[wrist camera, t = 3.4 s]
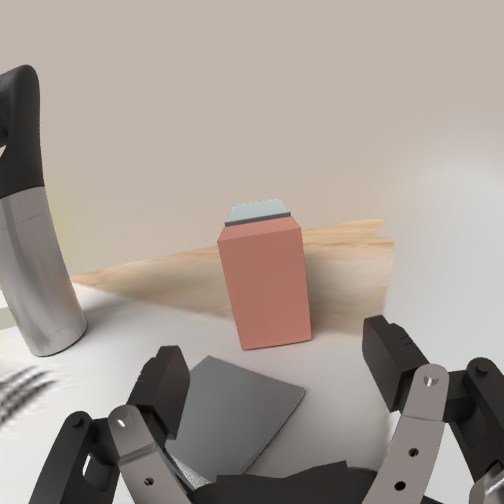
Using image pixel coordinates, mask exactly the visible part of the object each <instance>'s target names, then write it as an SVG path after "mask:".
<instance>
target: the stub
mask: <svg viewBox="0 0 504 504" xmlns="http://www.w3.org/2000/svg"><path fill="white" fill-rule="evenodd" d="M217 243H218V247H219V252H220V257H221V261H222V266H223V270H224V275H225V279H226V284H227V288H228V292H229V297H230V301H231V305H232V310H233V314H234V318H235V322H236V326H237V331H238V335H239V339H240V343H241V347H242V350H247V349H255V348H262V347H270V346H276V345H283V344H289V343H295V342H301V341H307V340H311V327H310V314H309V302H308V290H307V280H306V270H305V261H304V252H303V243H302V235H301V228H300V226H299V225H298V224H297V222H296V221H295V220H294V218H293V217H292V216H291V217H285V218H278V219H272V220H266V221H259V222H253V223H247V224H241V225H235V226H229V227H224V228H223V230H222V232H221V234H220V237H219V239H218V241H217Z"/></svg>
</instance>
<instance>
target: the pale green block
mask: <svg viewBox="0 0 504 504" xmlns="http://www.w3.org/2000/svg"><path fill="white" fill-rule="evenodd" d="M285 217H291V214H290V212H289V211H288V210H287V209H286V207H285V206H284V204H283V203H282V202H281V201H280V199H279V198H277V199H271V200H264V201H258V202H252V203H246V204H240V205H234V206H233V208H232V210H231V212H230V214H229V216H228V219H227V221H226V222H225V227H229V226H235V225H241V224H247V223H253V222H259V221H266V220H272V219H278V218H285Z"/></svg>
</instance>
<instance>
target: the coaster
mask: <svg viewBox="0 0 504 504" xmlns="http://www.w3.org/2000/svg"><path fill="white" fill-rule="evenodd" d="M189 373H190V386H189V390H188V394H187V398H186V402H185V406H184V410H183V414H182V418H181V422H180V426H179V430H178V434H177V438H176V440H166V443H165V447H166V448H167V450H168V451H169V453H170V455H171V456H172V457H173V458H174V459H175V460H177V461H178V462H179V463H181V464H182V465H183V466H185V467H186V468H188V469H189V470H190V471H192V472H193V473H195V474H196V475H198V476H199V477H201V478H202V479H204V480H205V481H207V482H208V483H213V482H216V478H217V475H242V474H243V473H244V472H245V471H246V470H247V468H248V467H249V466H250V465H251V464H252V463H253V462H254V460H255V459H256V458H257V457H258V456H259V454H260V453H261V452H262V451H263V450H264V448H265V447H266V446H267V445H268V443H269V442H270V441H271V440H272V438H273V437H274V436H275V435H276V433H277V432H278V431H279V429H280V428H281V427H282V425H283V424H284V423H285V421H286V420H287V419H288V417H289V416H290V415H291V413H292V412H293V410H294V409H295V408H296V406H297V405H298V403H299V402H300V400H301V399H302V397H303V396H304V395H305V394H304V388H301V387H297V386H294V385H290V384H287V383H284V382H281V381H278V380H274V379H271V378H268V377H265V376H262V375H259V374H257V373H254V372H251V371H248V370H245V369H242V368H240V367H237V366H234V365H232V364H229V363H227V362H224V361H221V360H219V359H216V358H214V357H211V356H209V355H208V356H207V357H206V358H205V359H204V360H202V361H201V362H200V363H199V364H198V365H196V366H195V367H194V368H193V369H192V370H190V371H189Z"/></svg>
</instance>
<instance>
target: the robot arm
mask: <svg viewBox="0 0 504 504" xmlns="http://www.w3.org/2000/svg"><path fill="white" fill-rule="evenodd" d="M39 90H40V89H39V80H38V77H37V74H36V71H35V70H34V69H33V67H32V66H30V65H22V66H19V67H17V68H14V69H12V70H10V71H8V72H6V73H4V74H1V75H0V148H1V147H3V146H5V145H6V148H5V150H4V152H3V154H2V155H1V157H0V287H1V289H2V292H3V294H4V297H5V299H6V302H7V304H8V307H9V309H10V311H11V313H12V316H13V318H14V320H15V322H16V325H17V327H18V329H19V331H20V333H21V335H22V337H23V338H24V340H25V342H26V344H27V346H28V348H29V350H30V351H31V353H32V354H34V355H36V356H47V355H51V354H54V353H57V352H59V351H61V350H63V349H65V348H67V347H68V346H70V345H71V344H73V343H74V342H75V341H77V340H78V339H79V338H80V337H81V336H82V335H83V333H84V332H85V330H86V328H87V321H86V319H85V316H84V314H83V312H82V309H81V307H80V304H79V302H78V299H77V297H76V294H75V291H74V289H73V286H72V283H71V281H70V278H69V275H68V272H67V269H66V267H65V263H64V260H63V257H62V254H61V251H60V247H59V244H58V241H57V237H56V234H55V230H54V226H53V222H52V218H51V214H50V210H49V206H48V200H47V195H46V190H45V187H44V186H45V185H44V179H43V171H42V158H41V148H40V129H39V127H40V124H39V123H40V91H39ZM362 351H363V356H364V359H365V361H366V363H367V365H368V367H369V369H370V371H371V374H372V376H373V378H374V380H375V382H376V384H377V386H378V388H379V390H380V392H381V394H382V396H383V399H384V401H385V403H386V405H387V407H388V409H389V412H390V413H391V412H394V411H397V410H399V411H400V413H401V417H400V419H399V422H398V425H397V427H396V430H395V433H394V435H393V438H392V440H391V442H390V445H389V447H388V449H387V452H386V454H385V456H384V458H383V460H382V462H381V465H380V467H379V469H378V471H374V470H370V469H367V468H360V467H347V464H346V460H345V461H340V462H336V463H332V464H327V465H322V466H317V467H313V468H310V469H308V470H305V471H302V472H300V473H297V474H294V475H291V476H288V477H285V478H270V477H262V476H255V475H249V474H243V475H217V478H216V482H213V483H210V484H206V485H204V486H201V487H199V488H197V489H195V488H194V487H193V486H192V485H191V483H190V482H189V481H188V480H187V479H186V477H185V476H184V474H183V473H182V471H181V470H180V468H179V467H178V465H177V464H176V462H175V461H174V459H173V458H172V456H171V455H170V453H169V451H168V450H167V448H166V447H165V443H166V440H176V438H177V434H178V430H179V426H180V422H181V418H182V414H183V410H184V406H185V402H186V398H187V394H188V390H189V386H190V373H189V370H188V367H187V365H186V362H185V360H184V357H183V355H182V352H181V350H180V348H179V346H177V345H176V346H161V347H160V349H159V351H158V353H157V355H156V358H151V359H150V360H149V361H148V362H147V363H146V364H145V365H144V367H143V369H142V371H141V373H140V374H141V375H139V377H138V379H137V382H136V384H135V386H134V388H133V390H132V392H131V394H130V397H129V399H128V401H127V403H126V405H122V406H119V407H117V408H115V409H114V410H113V411H112V412H111V413H110V414H109V417H108V418H101V419H92V418H91V417H90V416H89V414H88V413H86V412H84V411H77V412H74V413H72V414H70V415H69V416H68V417H67V418H66V420H65V422H64V423H63V425H62V427H61V429H60V431H59V434H58V436H57V438H56V440H55V442H54V444H53V446H52V448H51V450H50V453H49V455H48V457H47V459H46V461H45V464H44V466H43V468H42V471H41V473H40V475H39V478H38V480H37V483H36V485H35V488H34V490H33V493H32V496H31V498H30V501H29V504H112V502H113V498H114V494H115V490H116V486H117V482H118V478H119V475H120V472H121V474H122V477H123V479H124V481H125V484H126V486H127V488H128V490H129V492H130V494H131V496H132V498H133V500H134V502H135V504H443V503H441V502H438V501H436V500H433V499H431V498H429V497H427V496H425V495H424V492H425V490H426V487H427V485H428V482H429V479H430V476H431V473H432V470H433V467H434V464H435V461H436V458H437V454H438V450H439V447H440V443H441V439H442V435H443V431H444V425H445V423H449V425H450V427H451V429H452V432H453V434H454V436H455V438H456V440H457V442H458V444H459V447H460V449H461V451H462V453H463V456H464V458H465V461H466V463H467V465H468V468H469V470H470V473H471V475H472V478H473V480H474V483H475V484H474V485H473V487H472V489H471V491H470V495H469V504H504V375H503V374H502V373H501V372H500V370H499V369H498V368H497V366H496V365H495V364H494V363H493V362H492V361H491V360H489V359H487V358H483V357H480V358H479V357H478V358H475V359H473V360H471V361H470V362H469V364H468V366H467V368H466V370H461V371H453V372H447V370H446V369H445V368H444V367H442V366H440V365H437V364H430V363H429V362H428V360H427V359H426V358H425V356H424V355H423V354H422V352H421V351H420V350H419V348H418V347H417V346H416V344H415V343H413V340H412V339H411V338H410V337H409V335H408V334H407V333H406V331H405V330H404V329H403V328H402V327H400V326H398V325H396V324H395V323H392V324H389V323H388V322H387V321H386V319H385V318H384V317H383V315H377V316H373V317H369V318H365V319H364V326H363V342H362ZM88 455H89V456H90V457H91V458H90V461H89V463H88V466H87V469H86V472H85V475H84V476H83V467H84V464H85V462H86V459H87V456H88Z"/></svg>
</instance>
